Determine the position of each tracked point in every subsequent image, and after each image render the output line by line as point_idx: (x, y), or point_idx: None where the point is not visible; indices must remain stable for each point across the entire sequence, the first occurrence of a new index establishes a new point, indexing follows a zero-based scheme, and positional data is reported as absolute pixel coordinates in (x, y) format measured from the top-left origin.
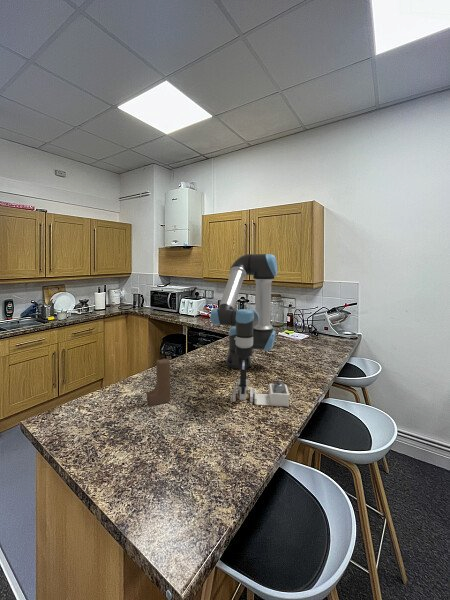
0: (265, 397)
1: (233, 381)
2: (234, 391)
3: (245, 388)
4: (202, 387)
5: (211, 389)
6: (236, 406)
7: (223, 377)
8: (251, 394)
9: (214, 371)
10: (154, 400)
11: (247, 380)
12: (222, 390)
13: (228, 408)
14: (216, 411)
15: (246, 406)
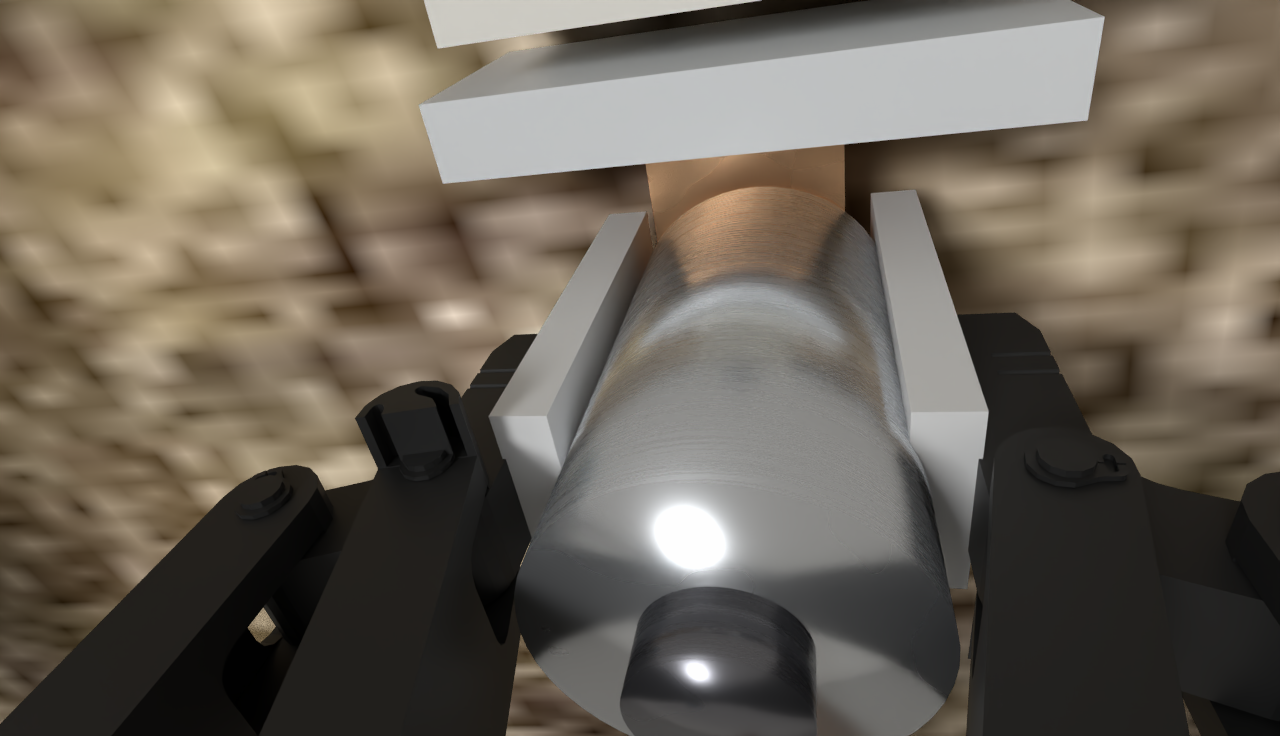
0: None
1: (151, 443)
2: None
3: (968, 380)
4: (522, 732)
5: (534, 662)
6: (1050, 334)
7: (131, 561)
8: (914, 95)
9: (61, 646)
10: None
11: (835, 508)
12: None
13: (1130, 454)
14: None
15: (1053, 135)
